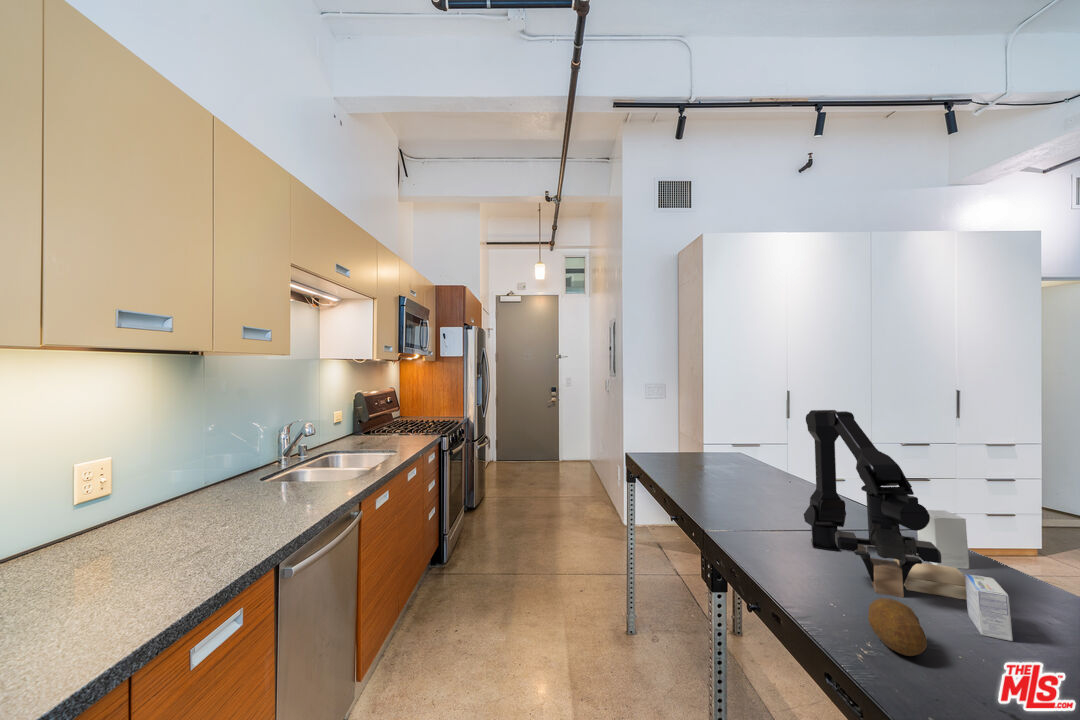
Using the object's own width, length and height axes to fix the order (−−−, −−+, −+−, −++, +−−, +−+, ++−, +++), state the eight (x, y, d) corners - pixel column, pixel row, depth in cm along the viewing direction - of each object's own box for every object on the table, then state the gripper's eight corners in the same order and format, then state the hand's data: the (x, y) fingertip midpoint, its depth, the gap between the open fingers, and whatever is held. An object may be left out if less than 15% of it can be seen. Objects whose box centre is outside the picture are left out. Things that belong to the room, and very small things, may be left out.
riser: (906, 589, 100) (906, 577, 100) (894, 568, 110) (893, 558, 110) (977, 601, 94) (976, 588, 94) (957, 578, 104) (956, 566, 104)
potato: (892, 664, 75) (889, 619, 75) (854, 624, 87) (851, 584, 87) (946, 669, 73) (943, 622, 74) (899, 627, 85) (897, 587, 86)
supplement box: (970, 569, 109) (967, 518, 109) (936, 567, 110) (933, 517, 111) (949, 557, 116) (946, 509, 116) (917, 555, 117) (914, 509, 118)
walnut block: (875, 592, 99) (874, 566, 99) (871, 583, 103) (870, 557, 103) (903, 597, 96) (902, 570, 97) (898, 587, 101) (896, 561, 101)
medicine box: (1013, 642, 80) (1010, 595, 80) (980, 635, 82) (976, 589, 82) (997, 621, 86) (994, 577, 87) (967, 615, 89) (964, 572, 89)
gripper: (838, 520, 98) (842, 590, 97) (948, 532, 89) (953, 609, 88) (833, 506, 108) (836, 570, 107) (931, 516, 99) (935, 585, 98)
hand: (886, 583), depth 100 cm, fingers closed on walnut block, 5 cm apart
